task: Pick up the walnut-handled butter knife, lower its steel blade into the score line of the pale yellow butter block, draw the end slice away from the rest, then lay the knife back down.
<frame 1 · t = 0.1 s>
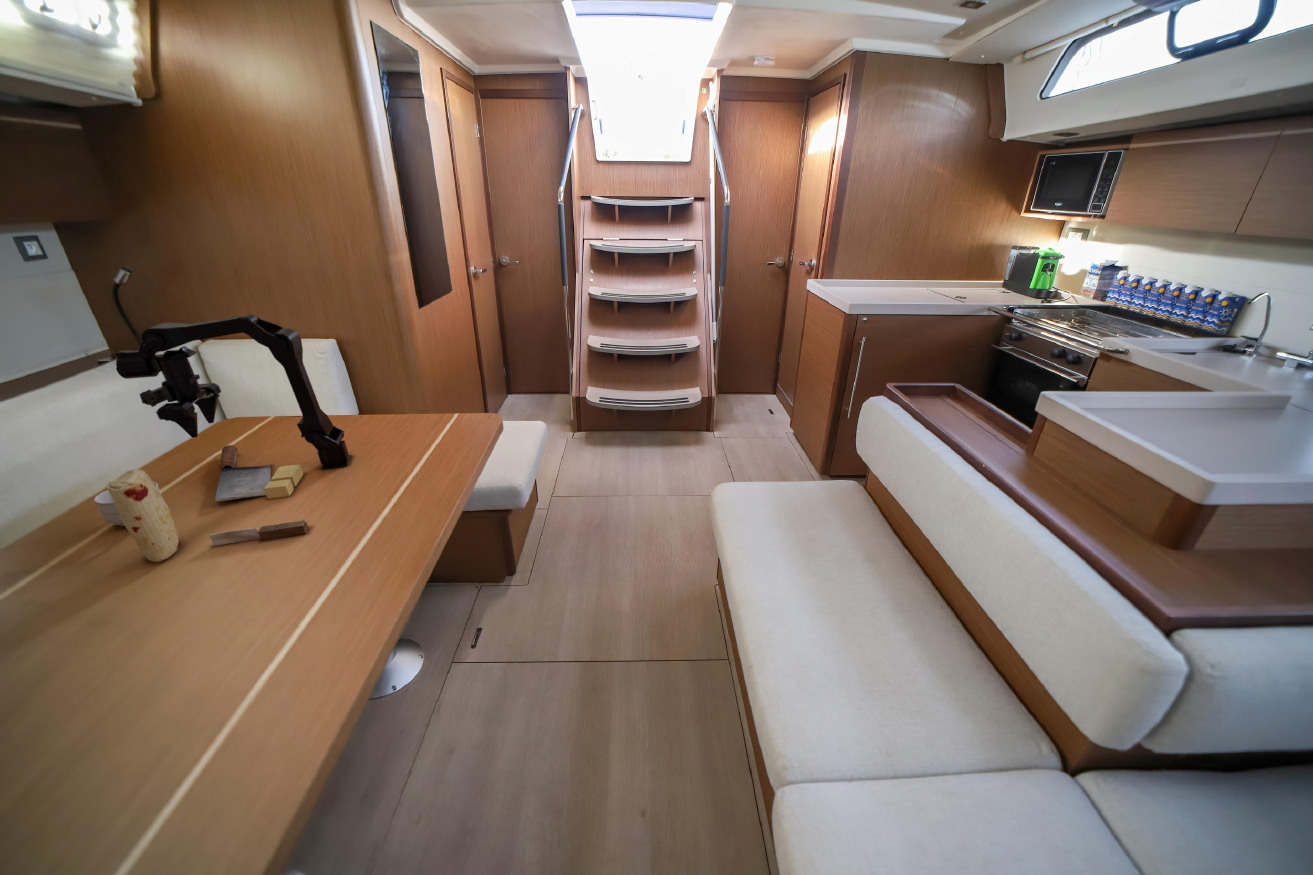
hand: (203, 429, 134), 15 cm above the table, tool pointing down, fingers open, 9 cm apart
knife: (285, 534, 117), on the table
butter block: (289, 481, 138), on the table
food model: (166, 553, 111), on the table
teacup: (142, 521, 121), on the table
meat cleaver: (246, 474, 142), on the table
butter slice: (281, 494, 133), on the table
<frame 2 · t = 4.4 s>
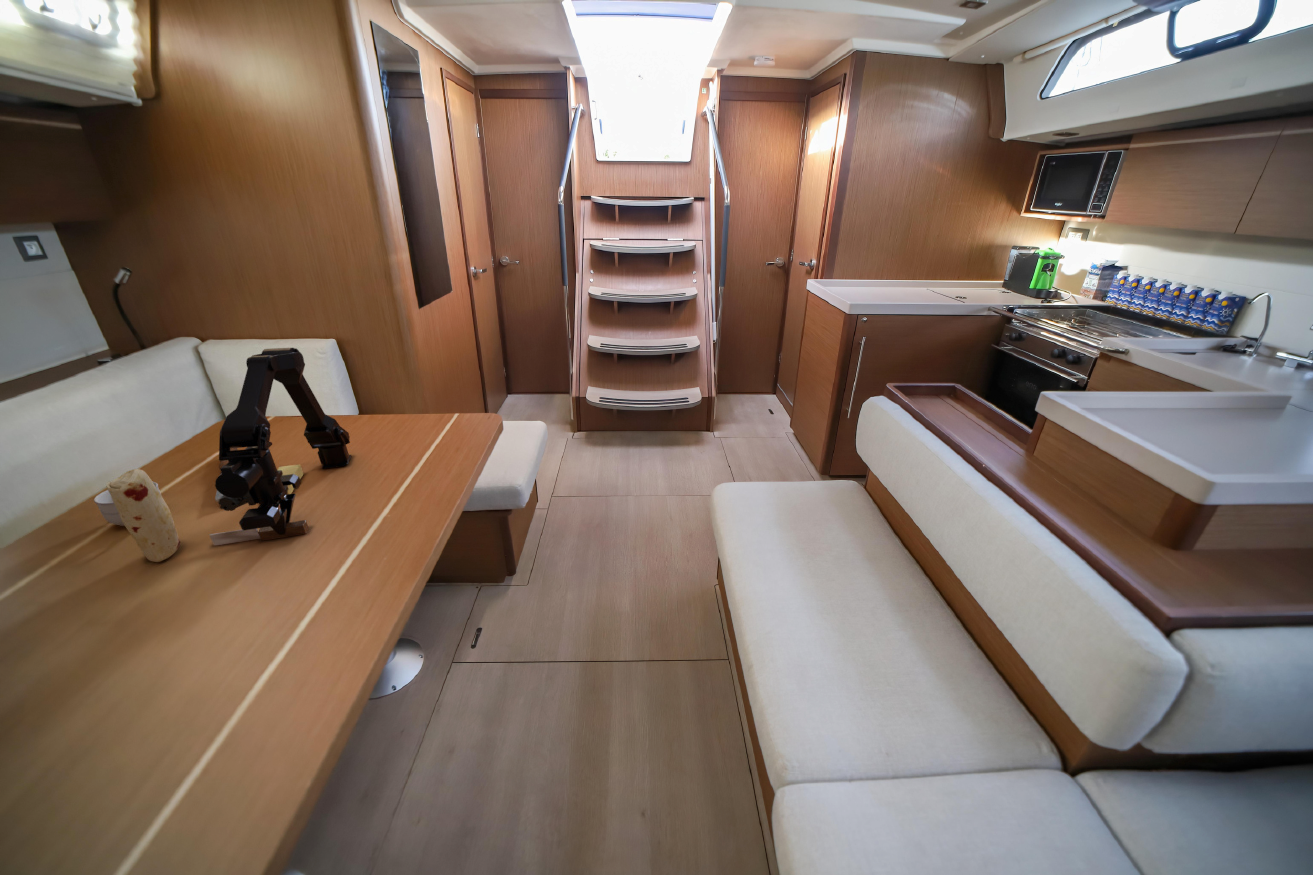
hand: (284, 530, 117), 1 cm above the table, tool pointing down, fingers closed on knife, 2 cm apart
knife: (285, 534, 117), on the table, touching gripper
everything else where it was.
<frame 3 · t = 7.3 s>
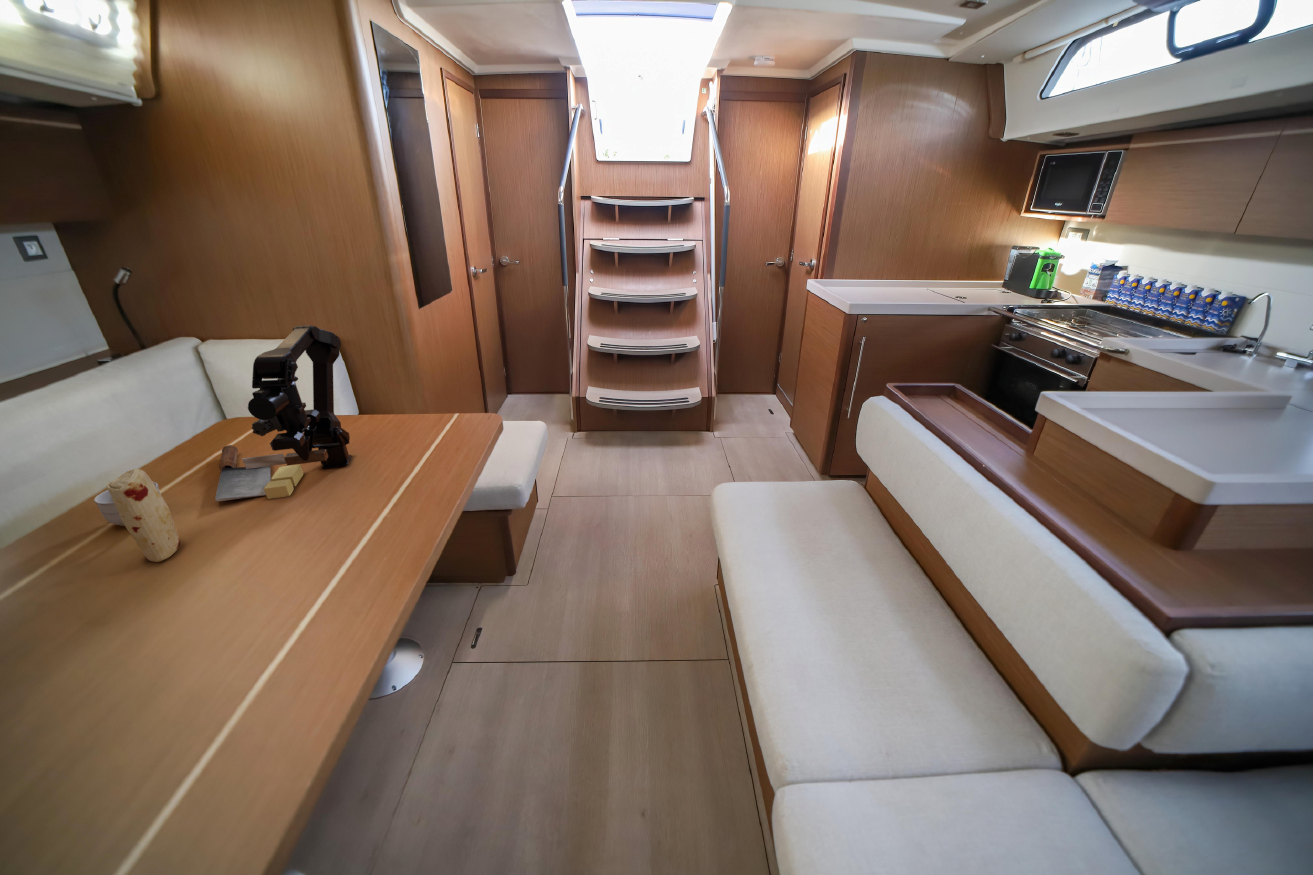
hand: (307, 457, 132), 9 cm above the table, tool pointing down, fingers closed on knife, 2 cm apart
knife: (308, 461, 132), point 8 cm above the table, touching gripper
everything else where it was.
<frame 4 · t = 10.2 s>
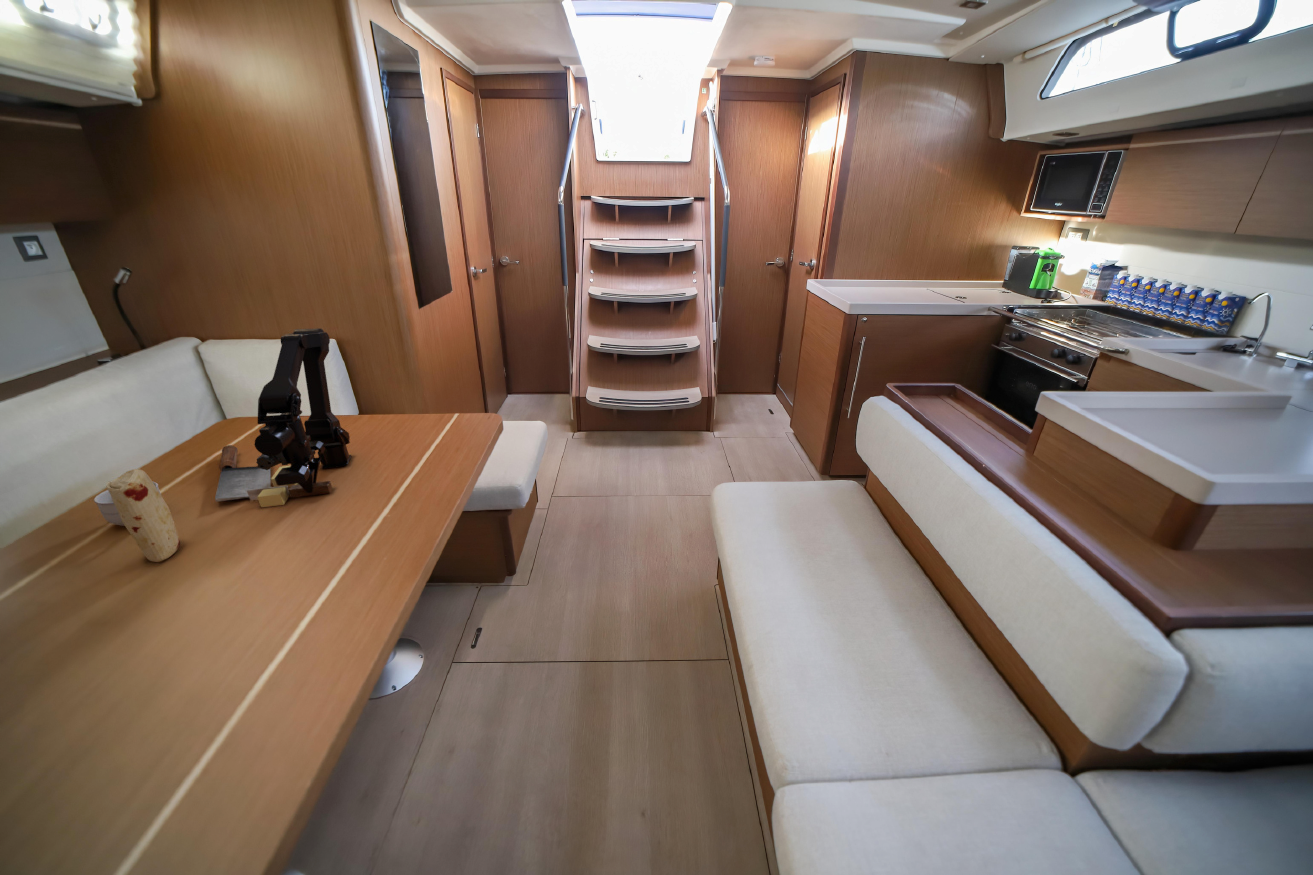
hand: (311, 489, 132), 1 cm above the table, tool pointing down, fingers closed on knife, 2 cm apart
knife: (312, 493, 132), on the table, touching butter slice, gripper
butter slice: (275, 502, 129), on the table, touching knife
everything else where it was.
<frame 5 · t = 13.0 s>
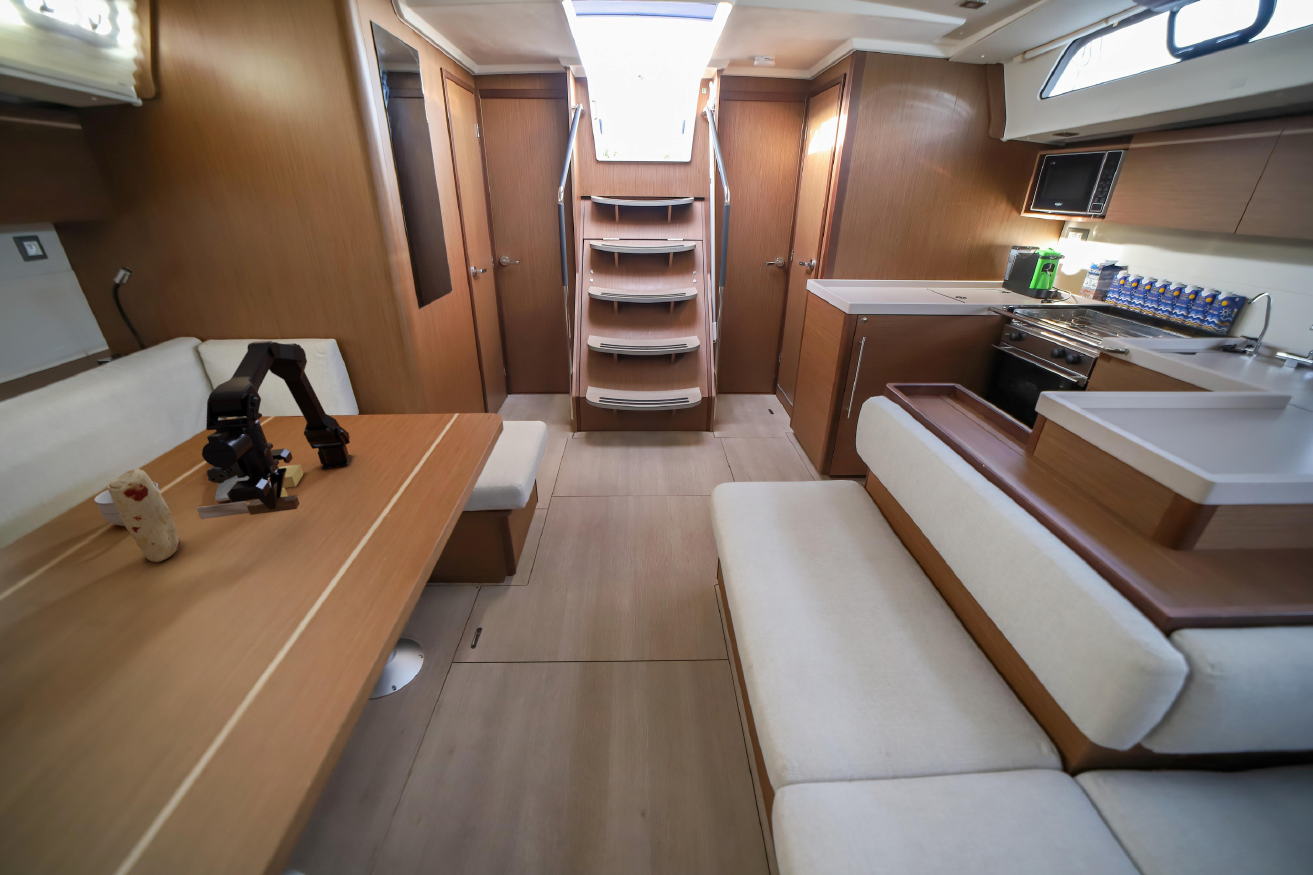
hand: (274, 505, 114), 8 cm above the table, tool pointing down, fingers closed on knife, 2 cm apart
knife: (275, 509, 114), point 7 cm above the table, touching gripper
butter slice: (274, 502, 129), on the table
everything else where it was.
when the fingers open (1 cm above the table, at t = 14.8 s): knife stays where it is, on the table.
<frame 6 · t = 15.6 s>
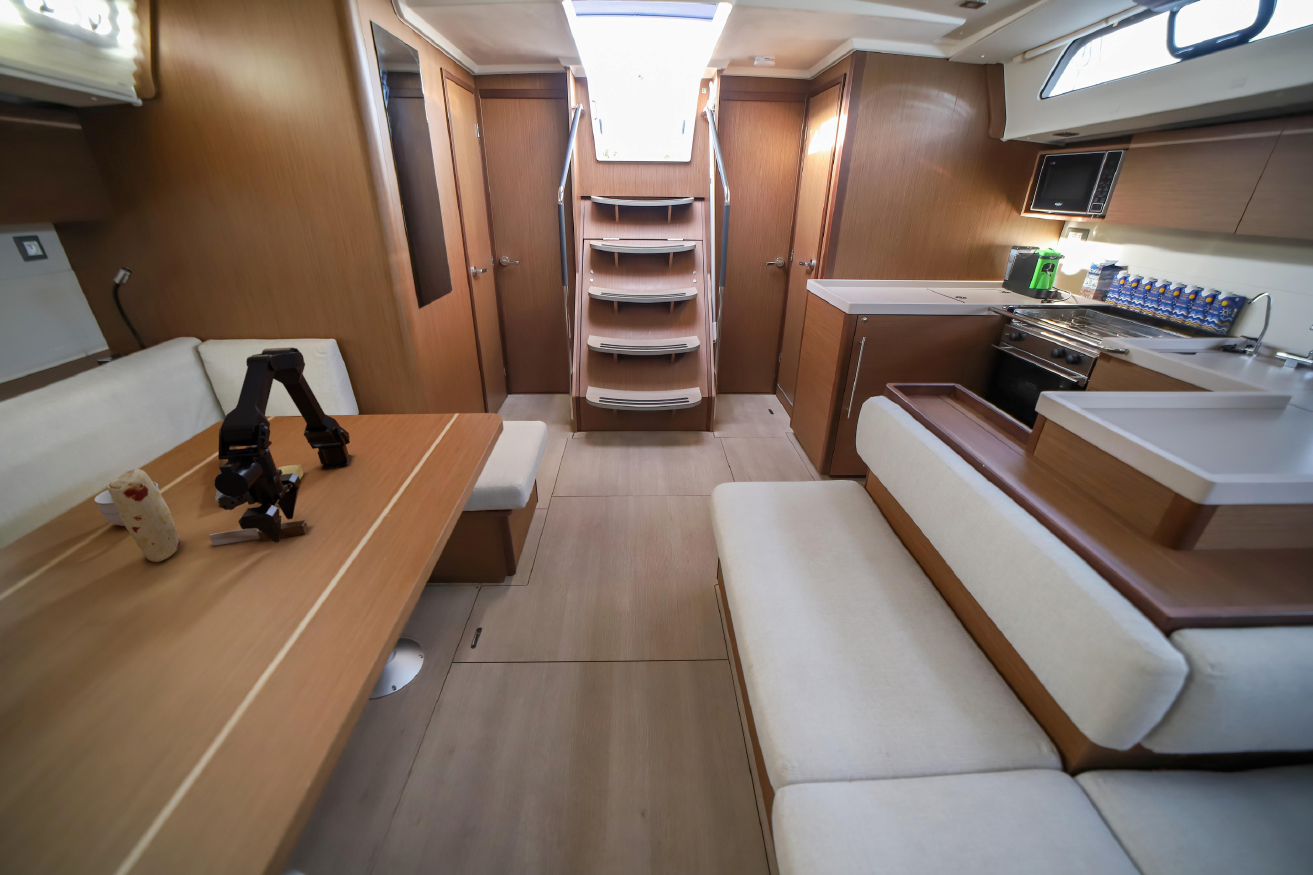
hand: (283, 530, 116), 1 cm above the table, tool pointing down, fingers open, 9 cm apart
knife: (285, 534, 117), on the table
everything else where it was.
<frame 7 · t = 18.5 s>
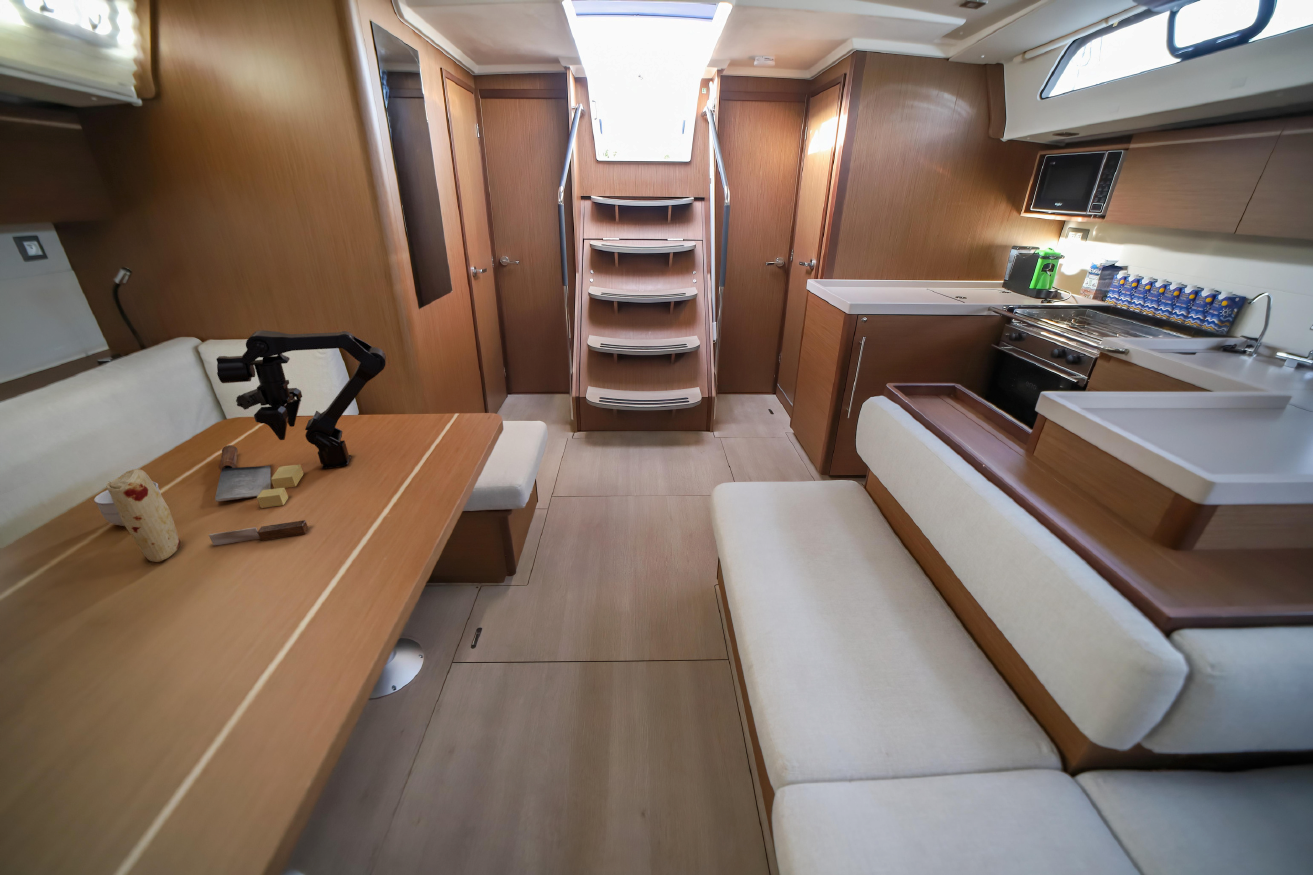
hand: (287, 432, 139), 12 cm above the table, tool pointing down, fingers open, 9 cm apart
nothing on the table moved.
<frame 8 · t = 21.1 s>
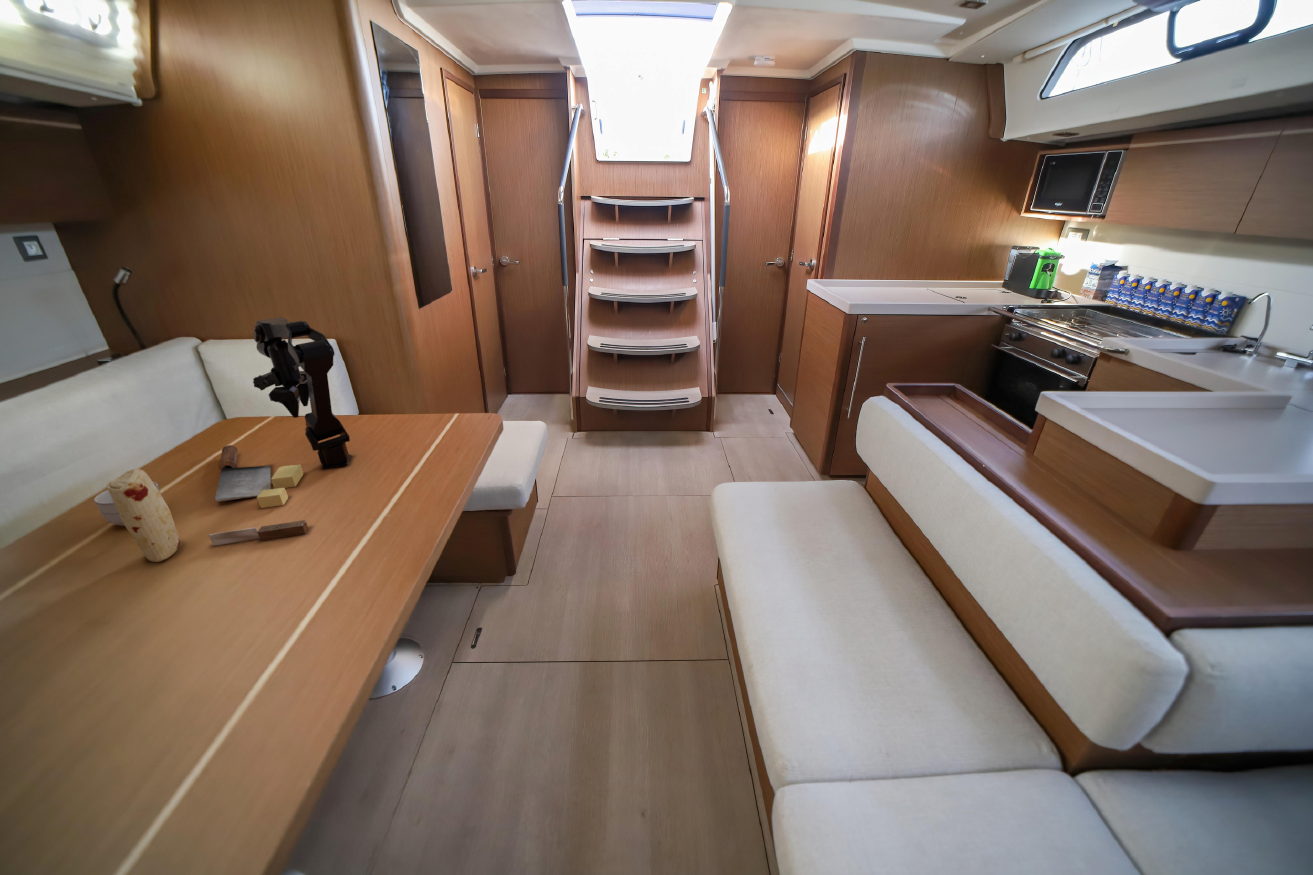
hand: (301, 411, 152), 12 cm above the table, tool pointing down, fingers open, 9 cm apart
nothing on the table moved.
at the end: butter slice 0.1 cm from the target spot on the table beside the butter block, on the table; butter block moved 0.0 cm from its start; the gripper is holding nothing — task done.
